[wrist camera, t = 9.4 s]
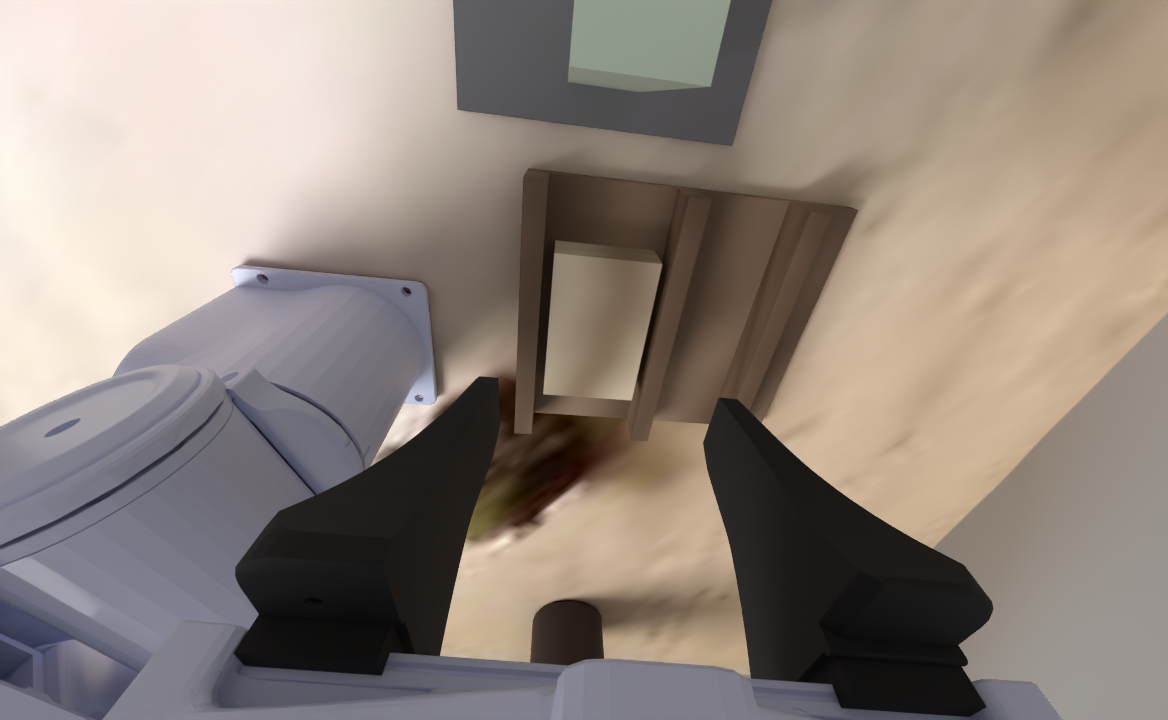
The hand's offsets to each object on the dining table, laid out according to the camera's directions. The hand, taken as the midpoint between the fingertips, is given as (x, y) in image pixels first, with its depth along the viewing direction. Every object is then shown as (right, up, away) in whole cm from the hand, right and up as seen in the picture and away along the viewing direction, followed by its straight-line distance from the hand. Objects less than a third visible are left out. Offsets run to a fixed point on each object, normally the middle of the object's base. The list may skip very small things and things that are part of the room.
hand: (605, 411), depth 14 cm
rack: (+4, +4, +10) cm, 11 cm away
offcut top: (0, +4, +8) cm, 9 cm away
